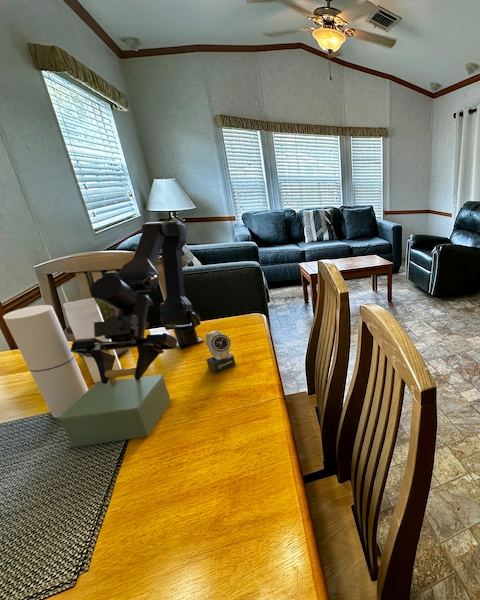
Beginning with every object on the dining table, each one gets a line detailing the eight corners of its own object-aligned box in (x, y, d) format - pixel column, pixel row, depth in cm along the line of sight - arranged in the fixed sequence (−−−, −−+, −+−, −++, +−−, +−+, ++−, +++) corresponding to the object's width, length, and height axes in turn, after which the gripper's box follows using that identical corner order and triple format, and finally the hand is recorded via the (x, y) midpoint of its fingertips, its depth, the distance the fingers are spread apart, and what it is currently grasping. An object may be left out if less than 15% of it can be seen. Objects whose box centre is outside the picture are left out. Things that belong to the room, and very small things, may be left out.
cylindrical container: (68, 419, 74) (20, 320, 65) (43, 415, 75) (-7, 317, 66) (100, 399, 80) (61, 306, 71) (77, 396, 82) (36, 303, 72)
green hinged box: (107, 409, 77) (97, 385, 74) (171, 401, 80) (163, 377, 77) (72, 447, 66) (59, 421, 64) (148, 436, 69) (138, 410, 67)
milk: (122, 374, 90) (95, 300, 82) (93, 383, 87) (61, 307, 78) (120, 365, 95) (94, 294, 86) (93, 373, 91) (62, 300, 83)
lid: (98, 384, 75) (91, 368, 73) (164, 376, 78) (159, 361, 76) (59, 421, 64) (50, 403, 62) (138, 410, 67) (131, 393, 65)
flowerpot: (63, 372, 92) (33, 306, 84) (94, 345, 105) (70, 287, 98) (124, 363, 95) (101, 300, 88) (146, 339, 109) (127, 282, 102)
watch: (219, 376, 89) (210, 341, 85) (205, 366, 94) (196, 332, 90) (239, 367, 93) (231, 332, 89) (225, 358, 98) (217, 325, 94)
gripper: (59, 306, 69) (39, 380, 63) (157, 299, 73) (148, 369, 67) (95, 324, 79) (81, 389, 73) (180, 317, 83) (174, 378, 77)
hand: (120, 381), depth 72 cm, fingers closed on lid, 6 cm apart
